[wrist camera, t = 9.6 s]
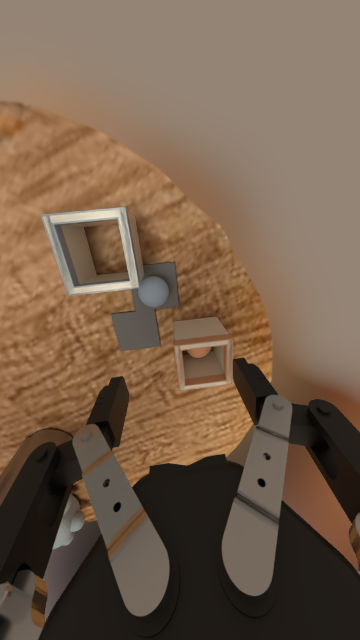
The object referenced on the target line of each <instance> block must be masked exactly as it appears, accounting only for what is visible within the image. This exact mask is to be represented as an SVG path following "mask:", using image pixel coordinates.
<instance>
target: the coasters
mask: <svg viewBox="0 0 360 640" xmlns="http://www.w3.org/2000/svg"><path fill="white" fill-rule="evenodd" d="M127 270H128V268H127ZM143 270H144V276H143V278H142V280H141V282H142V281H143V280H144V279H145V278H147V277H150V276H157V277H160V278H162V279H163V280H164V281H165V282H166V283H167V285H168V288H169V296H168V299H167V300H166V302H165V303H164V304H162V305H161V306H158V307H150V306H147V305H145V304H144V303H143V302H142V301H141V300H140V298H139V295H138V288H134V289H132V294H133V299H134V304H135V309H136V311H129V312H121V313H112V314H111V316H112V320H113V324H114V328H115V332H116V335H117V339H118V343H119V347H120V351H125V350H133V349H142V348H150V347H158V346H160V340H159V334H158V327H157V321H156V314H155V309H163V308H172V307H179V301H178V291H177V281H176V271H175V262H169V263H159V264H150V265H143ZM141 282H140V283H141Z"/></svg>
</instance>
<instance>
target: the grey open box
mask: <svg viewBox="0 0 360 640" xmlns="http://www.w3.org/2000/svg"><path fill="white" fill-rule="evenodd" d="M173 328H174V337H175V340H174V347H175V356H176V364H177V372H178V381H179V389H180V391H184V390H192V389H200V388H207V387H215V386H223V385H230V384H232V370H233V337H232V336H231V334H228V333H227V331H226V330H225V328H224V327H223V325H222V324H221V322H220V321H219V319H218V318H217V316H216V317H208V318H199V319H191V320H182V321H174V322H173ZM208 347H214V351H211V352H209V353H208V354H207V355H206V356H204V357H202V358H195V357H193V356H191V355H190V354H186V355H182V351H183V350H191V349H199V348H208Z"/></svg>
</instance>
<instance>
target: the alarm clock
mask: <svg viewBox="0 0 360 640" xmlns="http://www.w3.org/2000/svg"><path fill="white" fill-rule="evenodd" d="M79 510H80V505H79V502H78V500H77V499H76V498H75V497H74V496H73V495H72V494H71V493H70V496H69V499H68V502H67V505H66V508H65V511H64V514H63V518H62V521H61V524H60V527H59V530H58V533H57V536H56V540H55V543H54V546H53V549H55V548H58V547H60V546H61V545H68V544H69V543H70V542H71V541H72V539H73V537H74V531H77V530H79V529H80V528H81V527H82V526H83V524H84V521H85V515H84V513H83V512H81V511H79Z"/></svg>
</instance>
